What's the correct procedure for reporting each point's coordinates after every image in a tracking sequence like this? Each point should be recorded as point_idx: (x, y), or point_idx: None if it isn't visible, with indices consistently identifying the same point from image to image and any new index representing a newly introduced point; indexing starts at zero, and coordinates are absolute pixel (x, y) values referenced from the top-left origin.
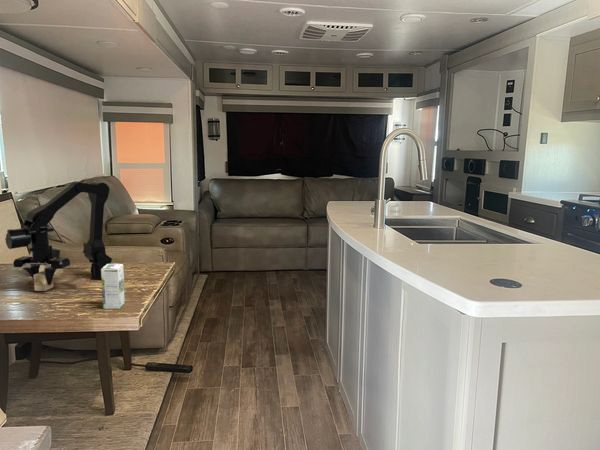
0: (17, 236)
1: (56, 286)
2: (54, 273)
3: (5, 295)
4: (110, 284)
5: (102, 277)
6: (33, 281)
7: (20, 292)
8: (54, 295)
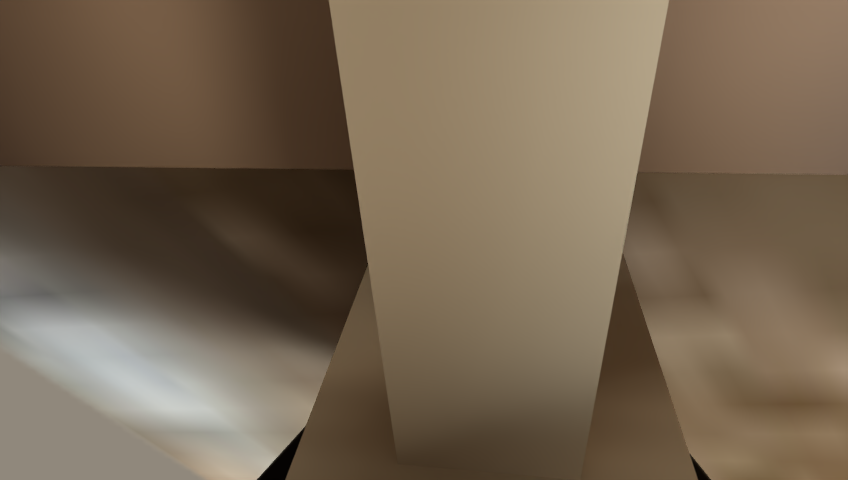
0: None
1: None
2: (622, 216)
3: (137, 435)
4: None
5: None
6: (13, 140)
7: (193, 358)
8: (761, 438)
